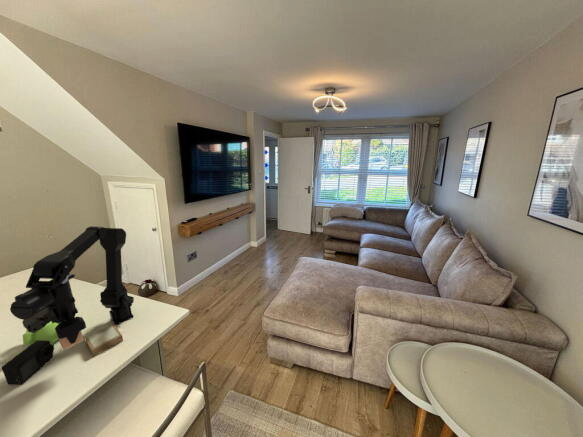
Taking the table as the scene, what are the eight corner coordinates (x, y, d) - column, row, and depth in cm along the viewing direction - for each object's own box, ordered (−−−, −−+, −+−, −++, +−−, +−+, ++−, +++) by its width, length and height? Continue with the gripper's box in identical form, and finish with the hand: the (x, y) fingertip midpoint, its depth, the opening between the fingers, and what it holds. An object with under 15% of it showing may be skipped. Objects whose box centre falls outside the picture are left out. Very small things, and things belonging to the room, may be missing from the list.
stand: (114, 329, 95) (113, 324, 94) (123, 340, 90) (122, 334, 89) (86, 343, 88) (84, 337, 87) (93, 355, 83) (91, 349, 82)
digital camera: (26, 385, 72) (19, 367, 70) (7, 385, 72) (0, 367, 70) (58, 356, 82) (53, 340, 80) (41, 356, 82) (36, 340, 80)
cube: (79, 333, 81) (76, 321, 80) (83, 340, 78) (80, 328, 77) (59, 342, 77) (55, 329, 76) (63, 350, 74) (59, 337, 73)
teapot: (26, 357, 81) (18, 334, 79) (28, 338, 89) (21, 316, 86) (73, 339, 89) (67, 317, 86) (71, 323, 97) (65, 303, 94)
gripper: (17, 297, 72) (30, 339, 77) (25, 325, 61) (41, 372, 66) (66, 282, 81) (75, 321, 85) (81, 304, 70) (91, 347, 74)
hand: (71, 338), depth 77 cm, fingers closed on cube, 5 cm apart
